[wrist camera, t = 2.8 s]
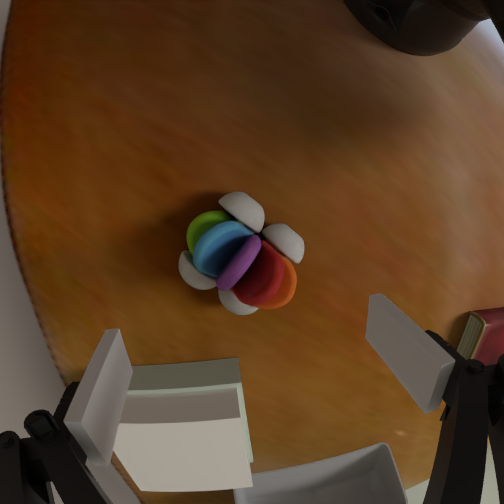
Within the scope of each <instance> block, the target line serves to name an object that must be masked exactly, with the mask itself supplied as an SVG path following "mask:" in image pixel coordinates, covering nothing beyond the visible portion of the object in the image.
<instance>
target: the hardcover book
mask: <svg viewBox="0 0 504 504" xmlns="http://www.w3.org/2000/svg"><path fill="white" fill-rule="evenodd" d="M469 314H470V316H469V319H468V322H467V324H466V327H465V330H464V332H463V335H462V338H461V340H460V343H459V345H458V348H457V350H456V351H457V352H458V353H459V354H460V355H461V356H463V357H464V358H465V359H466V360H467V359H476V360H479V361H481V362H483V363H484V365H485V366H486V365H493V364H497V362H498V359H499V357H500V356H501V355H502V354H504V307H502V308H494V309H486V310H477V311H469Z"/></svg>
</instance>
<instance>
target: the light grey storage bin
mask: <svg viewBox="0 0 504 504" xmlns="http://www.w3.org/2000/svg"><path fill="white" fill-rule="evenodd" d="M251 476H252V483H253V487H246V488H237V489H233V492H234V499H235V504H408V500H407V497H406V493H405V490H404V487H403V484H402V481H401V478H400V475H399V472H398V469H397V466H396V464H395V461H394V458H393V455H392V452H391V449H390V447H389V445H388V444H386V443H384V442H381V443H378V444H375V445H372V446H369V447H366V448H363V449H360V450H356V451H353V452H350V453H346V454H343V455H339V456H336V457H332V458H328V459H324V460H320V461H316V462H312V463H307V464H303V465H298V466H293V467H288V468H283V469H278V470H272V471H266V472H259V473H253V474H251Z"/></svg>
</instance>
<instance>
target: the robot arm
mask: <svg viewBox="0 0 504 504" xmlns="http://www.w3.org/2000/svg"><path fill="white" fill-rule="evenodd" d="M344 2H345V3H346V5H347V6H348V8H349V9H350V10H351V12H352V13H353V14H354V15H355V17H356V18H357V19H358V20H359V21H360V22H361V23H362V24H363V25H364V26H365V27H366V28H367V29H368V30H369V31H371V32H372V33H373V34H374V35H375V36H377V37H378V38H380V39H381V40H382V41H384V42H385V43H387V44H389V45H390V46H392V47H394V48H396V49H398V50H401V51H403V52H406V53H409V54H413V55H418V56H431V55H435V54H439V53H442V52H445V51H448V50H450V49H452V48H454V47H455V46H456V45H457V44H458V43H459V42H460V41H461V40H462V38H464V37H465V36H466V35H467V34H468V33H469V32H470V31H471V30H472V29H473V28H474V27H475V26H476V25H477V24H478V23H479V22H480V21H483V20H486V19H490V18H491V20H492V22H493V24H494V25H495V27H496V29H497V31H498V33H499V35H500V37H501V39H502V41H503V43H504V0H344ZM365 338H366V340H367V341H368V342H369V343H370V345H371V346H372V347H373V348H374V350H375V351H376V352H377V353H378V355H379V356H380V357H381V358H382V360H383V361H384V362H385V363H386V365H387V366H388V367H389V369H390V370H391V371H392V372H393V374H394V375H395V376H396V377H397V379H398V380H399V381H400V383H401V384H402V385H403V386H404V388H405V389H406V390H407V392H408V393H409V394H410V395H411V397H412V398H413V399H414V401H415V402H416V403H417V405H418V406H419V407H420V409H421V410H422V411H423V412H424V414H427V413H429V412H431V411H434V410H436V409H438V408H439V406H440V403H441V400H442V399H443V400H444V401H445V402H446V406H445V409H444V411H443V414H442V416H441V418H440V421H442V419H443V421H442V427H441V432H440V437H439V443H438V447H437V452H436V457H435V461H434V465H433V469H432V473H431V477H430V481H429V485H428V488H427V491H426V495H425V498H424V501H423V504H480V501H481V494H482V488H483V481H484V473H485V464H486V453H487V438H488V436H489V440H490V445H491V450H492V454H493V460H494V465H495V472H496V478H497V485H498V491H499V501H500V504H504V354H502V355H501V356H500V357H499V359H498V362H497V364H493V365H486V366H485V365H484V363H483V362H481V361H479V360H476V359H467V360H466V359H465V358H464V357H463V356H461V355H460V354H459V353H458V352H457V351H456V350H455V349H454V348H453V347H452V346H450V345H449V344H448V343H447V342H446V341H444V339H443V338H442V337H440V336H439V335H438V334H437V333H434V332H432V331H430V330H427V331H423V330H422V329H421V328H420V327H419V326H418V325H417V324H416V323H415V322H414V321H412V320H411V319H410V318H409V317H408V316H407V315H406V314H405V313H404V312H402V311H401V310H400V309H399V308H398V307H397V306H396V305H395V304H393V303H392V302H391V301H390V300H389V299H388V298H387V297H385V296H384V295H383V294H382V293H379V294H374V295H369V306H368V317H367V328H366V337H365ZM132 373H133V369H132V366H131V363H130V361H129V358H128V355H127V352H126V349H125V346H124V343H123V339H122V336H121V333H120V330H119V329H106V330H105V332H104V334H103V336H102V338H101V340H100V342H99V344H98V346H97V348H96V350H95V352H94V354H93V356H92V358H91V360H90V362H89V365H88V367H87V369H86V371H85V373H84V375H83V377H82V380H81V382H72V383H71V384H70V385H69V386H68V387H67V388H66V390H65V392H64V394H63V396H62V397H63V398H61V400H60V404H59V405H58V406H57V409H56V411H55V413H54V415H53V416H52V415H51V414H50V413H49V411H46V410H36V411H33V412H32V413H30V414H29V415H28V416H27V417H26V418H25V421H24V428H25V429H26V430H27V432H28V434H29V435H30V436H31V437H30V438H22V439H20V438H19V436H18V435H17V434H16V433H15V432H13V431H5V432H3V433H1V434H0V504H55V502H54V498H53V493H52V488H51V483H50V482H51V481H52V482H53V484H54V486H55V488H56V490H57V492H58V494H59V495H60V497H61V499H62V501H63V503H64V504H113V503H112V502H111V500H110V499H109V498H108V496H107V495H106V494H105V492H104V491H103V489H102V488H101V487H100V485H99V484H98V482H97V481H96V479H95V478H94V476H93V475H92V473H91V472H90V470H89V469H88V467H87V466H86V465H85V462H86V459H87V458H88V459H89V460H90V462H91V463H92V464H93V465H99V466H109V465H110V461H111V456H112V452H113V447H114V443H115V438H116V434H117V430H118V426H119V422H120V418H121V414H122V410H123V406H124V402H125V398H126V395H127V391H128V387H129V384H130V380H131V377H132Z"/></svg>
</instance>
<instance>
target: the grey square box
mask: <svg viewBox="0 0 504 504" xmlns="http://www.w3.org/2000/svg"><path fill="white" fill-rule="evenodd" d="M132 369H133V373H132V377H131V380H130V384H129V387H128V391H127V395H126V398H125V402H124V406H123V410H122V414H121V418H120V422H119V426H118V430H117V434H116V438H115V443H114V447H113V451H114V452H115V454H116V455H117V457H118V458H119V460H120V461H121V463H122V464H123V466H124V467H125V469H126V470H127V472H128V473H129V475H130V476H131V477H132V479H133V480H134V482H135V483H136V484H137V486H138V487H139V489H140V490H141V491H161V492H187V491H212V490H226V489H237V488H246V487H253V483H252V476H251V470H250V463H251V462H253V455H252V449H251V443H250V437H249V430H248V424H247V417H246V410H245V404H244V397H243V390H242V383H241V376H240V369H239V362H238V357H236V358H227V359H218V360H209V361H199V362H188V363H175V364H161V365H143V366H132Z"/></svg>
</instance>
